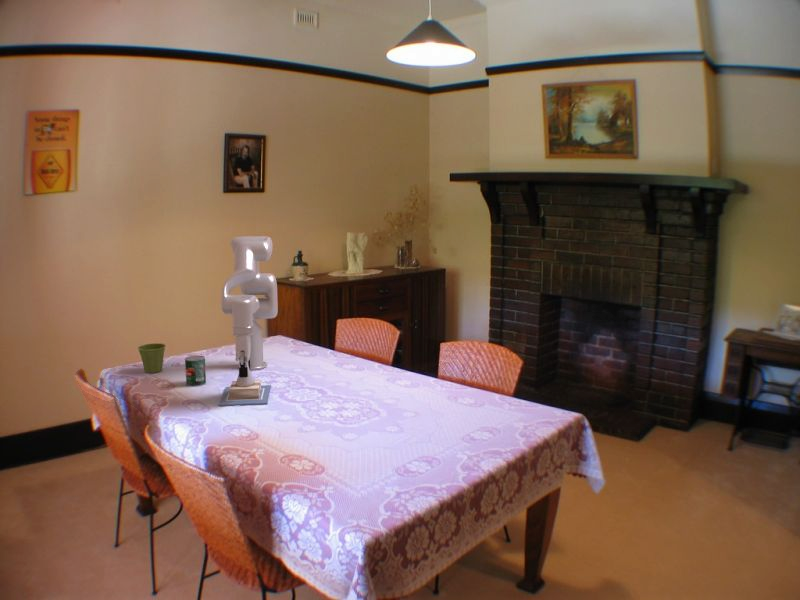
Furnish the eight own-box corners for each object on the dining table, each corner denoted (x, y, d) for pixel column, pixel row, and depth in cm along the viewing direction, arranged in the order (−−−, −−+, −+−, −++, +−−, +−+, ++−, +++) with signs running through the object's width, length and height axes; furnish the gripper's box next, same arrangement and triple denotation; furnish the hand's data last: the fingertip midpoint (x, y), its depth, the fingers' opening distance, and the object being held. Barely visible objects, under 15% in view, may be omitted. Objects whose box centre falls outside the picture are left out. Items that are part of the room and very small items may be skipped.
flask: (231, 385, 251) (230, 360, 249) (244, 380, 257) (243, 356, 255) (246, 388, 247) (245, 363, 246) (258, 383, 254) (257, 358, 252)
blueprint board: (225, 388, 262) (225, 386, 262) (270, 386, 265) (270, 384, 264) (218, 406, 241) (217, 404, 241) (267, 404, 243) (267, 402, 243)
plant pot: (140, 368, 290) (138, 344, 288) (168, 366, 293) (166, 342, 291) (137, 376, 279) (136, 350, 277) (166, 373, 282) (165, 348, 280)
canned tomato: (182, 385, 266) (180, 359, 264) (194, 380, 273) (192, 354, 271) (198, 387, 263) (197, 361, 262) (210, 381, 271) (208, 356, 269)
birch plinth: (232, 390, 257) (232, 381, 257) (261, 389, 259) (260, 380, 258) (229, 399, 246) (229, 389, 246) (258, 398, 248) (258, 388, 247)
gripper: (235, 326, 256) (237, 367, 259) (230, 335, 239) (232, 380, 242) (255, 325, 257) (256, 367, 260) (251, 335, 240) (252, 379, 243)
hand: (244, 373), depth 251 cm, fingers open, 9 cm apart
